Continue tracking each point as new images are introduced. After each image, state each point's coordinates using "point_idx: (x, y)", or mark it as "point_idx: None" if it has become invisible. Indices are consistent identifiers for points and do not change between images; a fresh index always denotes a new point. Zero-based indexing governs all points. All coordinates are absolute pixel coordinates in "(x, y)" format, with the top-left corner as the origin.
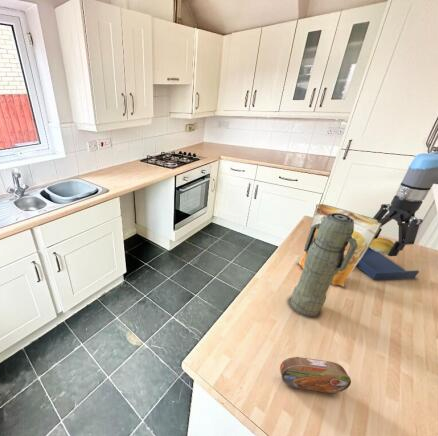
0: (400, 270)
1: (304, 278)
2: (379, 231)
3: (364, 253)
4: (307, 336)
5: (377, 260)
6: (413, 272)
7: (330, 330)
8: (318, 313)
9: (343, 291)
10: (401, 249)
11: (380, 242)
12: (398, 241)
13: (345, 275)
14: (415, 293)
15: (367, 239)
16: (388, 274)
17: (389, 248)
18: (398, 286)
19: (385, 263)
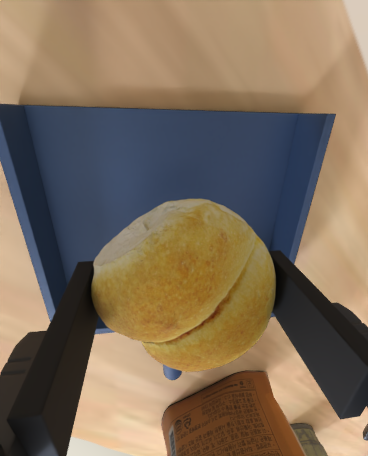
0: (247, 140)
1: None
2: (60, 379)
3: (88, 208)
4: (336, 442)
5: (155, 188)
6: (322, 149)
7: (342, 420)
8: (312, 429)
9: (278, 375)
10: (349, 321)
11: (205, 364)
12: (353, 403)
13: (278, 417)
14: (356, 204)
15: None
16: None
17: (266, 325)
18: (311, 232)
19: (184, 167)
